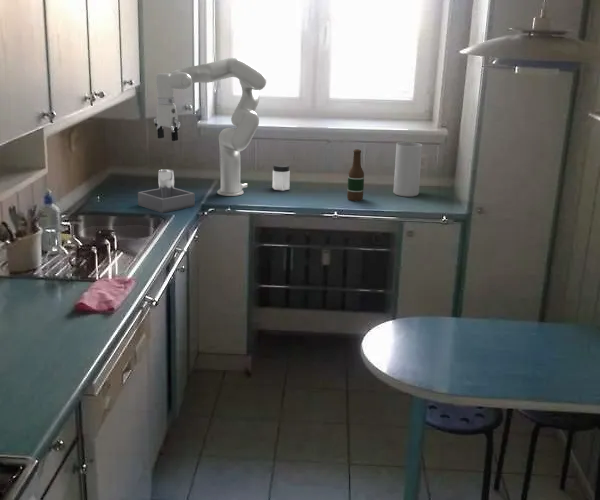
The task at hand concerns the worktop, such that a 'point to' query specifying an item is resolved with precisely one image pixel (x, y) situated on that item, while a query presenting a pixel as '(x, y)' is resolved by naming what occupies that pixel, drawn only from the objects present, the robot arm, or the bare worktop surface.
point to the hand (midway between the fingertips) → (167, 139)
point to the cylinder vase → (407, 169)
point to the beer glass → (166, 183)
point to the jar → (281, 177)
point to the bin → (166, 200)
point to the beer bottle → (355, 178)
